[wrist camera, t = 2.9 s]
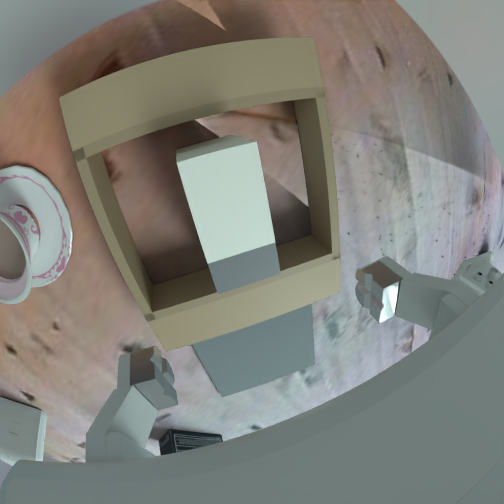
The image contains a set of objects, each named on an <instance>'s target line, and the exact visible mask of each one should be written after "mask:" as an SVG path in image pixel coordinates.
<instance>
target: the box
mask: <svg viewBox="0 0 504 504" xmlns="http://www.w3.org/2000/svg"><path fill="white" fill-rule="evenodd" d="M176 161H177V166H178V169H179V173H180V176H181V180H182V183H183V187H184V190H185V193H186V197H187V200H188V203H189V207H190V210H191V213H192V217H193V220H194V223H195V226H196V229H197V233H198V236H199V239H200V242H201V245H202V248H203V251H204V254H205V257H206V260H207V263H208V266H209V269H210V272H211V275H212V278H213V281H214V284H215V287H216V290H217V293H218V294H221V293H224V292H227V291H230V290H233V289H236V288H239V287H242V286H245V285H248V284H251V283H254V282H257V281H260V280H263V279H266V278H269V277H272V276H275V275H278V274H281V272H280V266H279V260H278V254H277V249H276V243H275V237H274V231H273V226H272V220H271V215H270V209H269V204H268V198H267V193H266V188H265V182H264V177H263V172H262V167H261V162H260V156H259V151H258V146H257V142H256V141H253V140H249V139H245V138H241V137H237V136H233V135H229V136H225V137H221V138H217V139H213V140H209V141H205V142H201V143H198V144H194V145H191V146H187V147H184V148H181V149H177V150H176Z"/></svg>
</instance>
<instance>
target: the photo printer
mask: <svg viewBox="0 0 504 504" xmlns="http://www.w3.org/2000/svg"><path fill="white" fill-rule="evenodd" d="M46 421H47V415H46V414H45V413H44V412H43V411H41V410H38V409H36V408H32V407H29V406H26V405H23V404H20V403H17V402H14V401H11V400H8V399H6V398H2V397H0V459H1V460H3V461H4V462H6V463H8V464H10V465H11V466H13V465H14V464H15V463H16V462H17V461H18V460H21V459H25V460H34V461H43V448H44V438H45V429H46Z"/></svg>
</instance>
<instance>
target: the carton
mask: <svg viewBox="0 0 504 504" xmlns="http://www.w3.org/2000/svg"><path fill="white" fill-rule="evenodd" d="M59 100H60V105H61V110H62V114H63V118H64V122H65V126H66V130H67V134H68V137H69V141H70V144H71V148H72V151H73V155H74V158H75V161H76V164H77V167H78V170H79V173H80V176H81V179H82V182H83V185H84V188H85V190H86V193H87V196H88V199H89V201H90V204H91V206H92V209H93V211H94V214H95V216H96V219H97V221H98V224H99V226H100V228H101V231H102V233H103V235H104V238H105V240H106V242H107V244H108V247H109V249H110V251H111V253H112V255H113V257H114V260H115V262H116V264H117V266H118V268H119V270H120V272H121V274H122V276H123V278H124V280H125V282H126V284H127V286H128V288H129V289H130V291H131V293H132V295H133V297H134V299H135V301H136V302H137V304H138V306H139V308H140V310H141V311H142V313H143V315H144V317H145V318H146V320H147V322H148V324H149V325H150V327H151V329H152V330H153V332H154V334H155V335H156V337H157V339H158V340H159V342H160V343H161V345H162V347H163V348H164V350H165V351H170V350H174V349H177V348H181V347H184V346H188V345H191V344H194V343H198V342H201V341H204V340H208V339H211V338H214V337H217V336H221V335H224V334H227V333H230V332H233V331H236V330H239V329H242V328H245V327H248V326H251V325H254V324H257V323H260V322H262V321H265V320H268V319H271V318H274V317H277V316H279V315H282V314H285V313H287V312H290V311H293V310H295V309H298V308H301V307H303V306H306V305H309V304H311V303H314V302H316V301H319V300H321V299H324V298H326V297H329V296H331V295H334V294H336V293H338V292H340V239H339V217H338V201H337V188H336V176H335V166H334V156H333V147H332V139H331V131H330V124H329V117H328V110H327V104H326V98H325V92H324V86H323V81H322V76H321V70H320V65H319V61H318V56H317V51H316V47H315V42H314V38H313V37H290V38H269V39H256V40H246V41H238V42H230V43H224V44H217V45H212V46H206V47H201V48H196V49H191V50H187V51H183V52H178V53H174V54H170V55H167V56H163V57H159V58H156V59H153V60H149V61H146V62H143V63H140V64H137V65H134V66H131V67H128V68H125V69H122V70H120V71H117V72H114V73H112V74H109V75H107V76H104V77H102V78H100V79H97V80H95V81H93V82H90V83H88V84H86V85H84V86H82V87H79V88H77V89H75V90H73V91H71V92H69V93H67V94H65V95H63V96H61V97H60V98H59ZM291 100H293V104H294V109H295V115H296V121H297V126H298V133H299V139H300V145H301V152H302V158H303V165H304V173H305V180H306V188H307V196H308V204H309V213H310V222H311V232H312V235H309V236H306V237H303V238H300V239H297V240H294V241H290V242H287V243H284V244H281V245H278V246H276V249H277V254H278V260H279V266H280V272H281V274H278V275H275V276H272V277H269V278H266V279H263V280H260V281H257V282H254V283H251V284H248V285H245V286H242V287H239V288H236V289H233V290H230V291H227V292H224V293H221V294H218V293H217V290H216V287H215V284H214V281H213V278H212V275H211V272H210V269H209V268H206V269H203V270H200V271H197V272H194V273H191V274H187V275H184V276H181V277H178V278H175V279H172V280H169V281H166V282H162V283H159V284H156V285H153V284H152V282H151V280H150V278H149V276H148V273H147V271H146V269H145V267H144V265H143V262H142V260H141V258H140V256H139V253H138V251H137V249H136V246H135V244H134V242H133V239H132V237H131V234H130V232H129V230H128V227H127V225H126V222H125V219H124V217H123V214H122V212H121V209H120V206H119V204H118V201H117V198H116V195H115V193H114V190H113V187H112V184H111V181H110V178H109V175H108V172H107V169H106V166H105V163H104V160H103V157H102V153H101V151H103V150H106V149H108V148H111V147H113V146H116V145H118V144H121V143H123V142H126V141H129V140H131V139H134V138H137V137H140V136H143V135H145V134H148V133H151V132H154V131H157V130H161V129H164V128H167V127H170V126H174V125H177V124H180V123H184V122H187V121H191V120H195V119H199V118H202V117H206V116H210V115H215V114H219V113H223V112H228V111H232V110H237V109H242V108H247V107H253V106H258V105H264V104H270V103H277V102H284V101H291Z"/></svg>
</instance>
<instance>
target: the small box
mask: <svg viewBox="0 0 504 504" xmlns="http://www.w3.org/2000/svg"><path fill="white" fill-rule="evenodd" d="M220 442H223V440H222V435H217V434H204V433H194V432H185V431H178V430H169V431H168V432H167V433H166V434H165V435H164V436H163V437H162V438H161V439H160V440H159V446H160V453H161V455H167V454H172V453H177V452H182V451H187V450H192V449H196V448H200V447H204V446H208V445H212V444H216V443H220Z"/></svg>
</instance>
